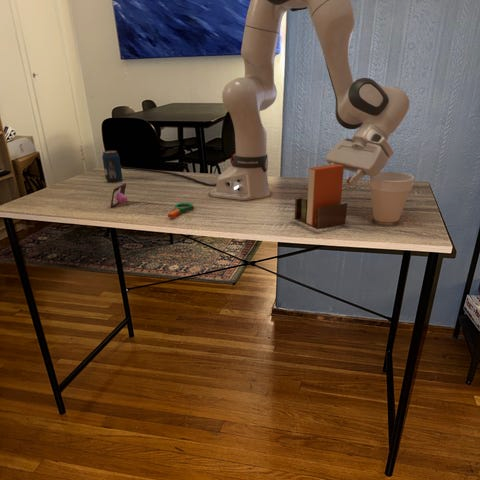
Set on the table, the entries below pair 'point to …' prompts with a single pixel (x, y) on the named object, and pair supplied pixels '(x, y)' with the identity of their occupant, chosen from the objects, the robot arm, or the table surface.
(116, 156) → the soda can
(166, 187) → the table surface
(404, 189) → the flower pot
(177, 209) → the magnifying glass
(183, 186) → the table surface
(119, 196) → the brown pink framed ornament
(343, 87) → the robot arm
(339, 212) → the rack
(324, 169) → the book
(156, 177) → the table surface
